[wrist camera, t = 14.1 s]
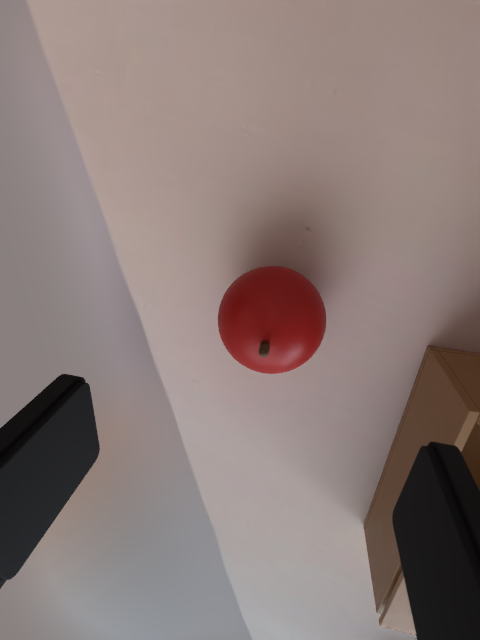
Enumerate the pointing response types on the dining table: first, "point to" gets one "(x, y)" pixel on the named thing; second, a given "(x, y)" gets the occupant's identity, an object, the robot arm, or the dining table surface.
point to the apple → (272, 319)
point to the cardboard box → (414, 431)
